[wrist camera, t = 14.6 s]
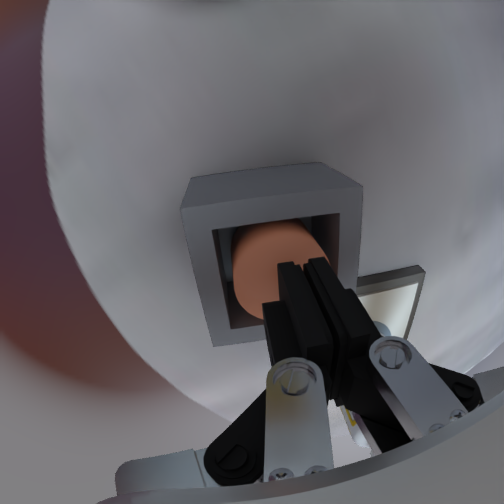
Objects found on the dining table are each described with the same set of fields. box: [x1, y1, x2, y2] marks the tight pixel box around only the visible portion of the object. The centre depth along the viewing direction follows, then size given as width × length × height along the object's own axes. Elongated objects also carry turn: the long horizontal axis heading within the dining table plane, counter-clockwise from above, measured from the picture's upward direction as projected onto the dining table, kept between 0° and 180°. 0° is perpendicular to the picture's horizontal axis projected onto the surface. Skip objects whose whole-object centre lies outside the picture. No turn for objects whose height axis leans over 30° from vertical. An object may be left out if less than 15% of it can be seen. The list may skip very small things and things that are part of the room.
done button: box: [230, 218, 330, 319], centre depth 13 cm, size 4×4×3 cm
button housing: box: [180, 162, 363, 347], centre depth 14 cm, size 7×7×5 cm
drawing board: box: [356, 265, 426, 340], centre depth 21 cm, size 11×13×1 cm
